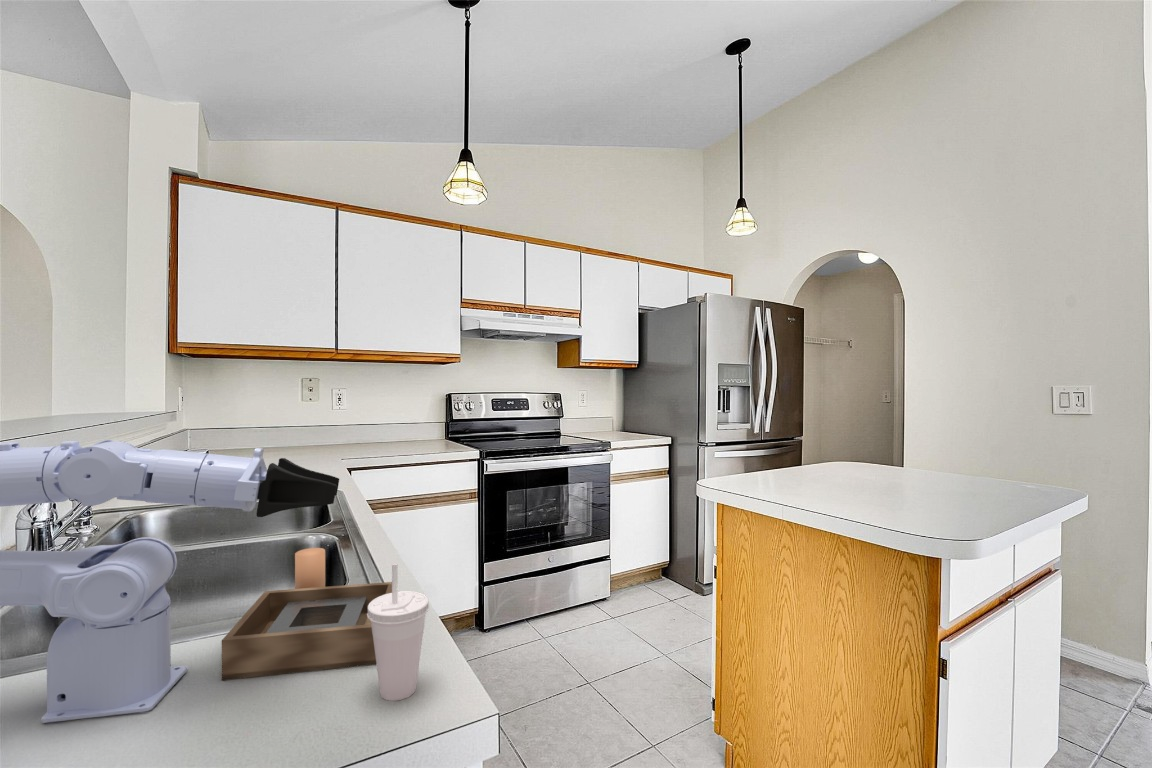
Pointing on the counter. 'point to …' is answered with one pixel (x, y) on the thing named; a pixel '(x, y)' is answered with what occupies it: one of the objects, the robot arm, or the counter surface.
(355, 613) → the socket plate
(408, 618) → the smoothie
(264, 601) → the socket box
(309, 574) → the peg
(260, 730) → the counter surface
